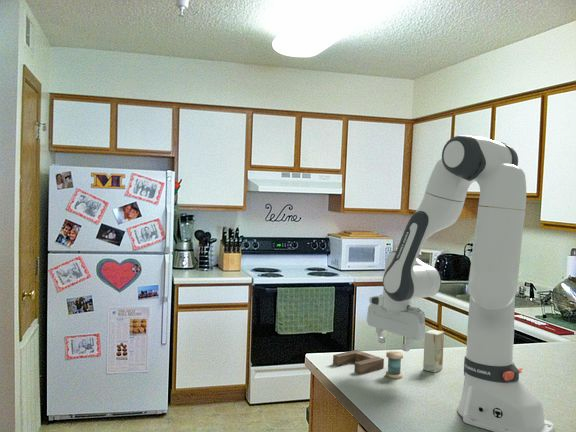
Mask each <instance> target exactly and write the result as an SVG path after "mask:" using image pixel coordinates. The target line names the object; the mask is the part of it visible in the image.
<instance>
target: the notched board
mask: <svg viewBox="0 0 576 432" xmlns="http://www.w3.org/2000/svg"><path fill="white" fill-rule="evenodd" d="M353 363H354V371H353V372H354V373H356V374H359V375H363V374H367V373H371V372H375V371H378V370H382V369H384V365H385V358H383V357H380V356H376V355H373V354H370V353H368V352H364V351H361V350H358V349H354V350H350V351H346V352H340V353H336V354H333V356H332V364H333V366H334V365H335V366H336V367H341V366H344V365H348V364H353Z"/></svg>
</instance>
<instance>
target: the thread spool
mask: <svg viewBox="0 0 576 432" xmlns="http://www.w3.org/2000/svg"><path fill="white" fill-rule="evenodd" d="M385 353H386V358H387V370H386V371H385V377H387V378H388V379H391V380H399V379H402V378H403V373H402V371H401V365H402V364H401V362H402V359H403V358H404V354H403V352H400V351H395V350H393V351H392V350H390V351H389V350H388V351H387V352H385Z"/></svg>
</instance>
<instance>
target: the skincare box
mask: <svg viewBox="0 0 576 432" xmlns="http://www.w3.org/2000/svg"><path fill="white" fill-rule="evenodd" d="M444 337H445V332H444V331H442V330H436V329H430V330H427V331H425V336H424V338H423V339H424V343H423V344H424V345H423V346H424V347H423V361H422V364H423V365H422V371H428V372H430V373H437V372H439V371H440V370H442V369H443V364H444V363H443V362H444V341H445V340H444Z"/></svg>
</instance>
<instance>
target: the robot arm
mask: <svg viewBox="0 0 576 432" xmlns="http://www.w3.org/2000/svg"><path fill="white" fill-rule="evenodd" d="M518 165H519V157H518V154H517V151H516V150H515V149H514V148H513V147H512V146H511V145H509V144H507V143H505V142H502V141H497V140H492V139H490V138H487V137H483V136H472V135H470V134H464V135H463V134H461V135H456V136H453V137H451V138H450V139H449V140H447V141H446V143H445V144H444V146H443V149H442V152H441V158H440V159H439V160H438V161H437V162H436V163H435V165H434V168H433V169H432V171H431V174H430V176H429V179H428V180H427V181H428V182H427V184H426V189H425V192H424V195H423V198H422V200H421V202H420V204H419V206H418V208H417V209H416V211H415V212H414V213H413V214H412V215H411V217H410V218H409V219H408V222H407V224H406V227H405V229H404V231H403V233H402V236H401V239H400V241H399V243H398V246H397V249H396V250H392V251H390V252H389V253H388V254H387V256H386V260H385V264H384V274H383V276H382V286H383V291H382V294H379V295H374V296H373V295H372V296H370V297H368V299H369V300H368V301H369V305H368V307H367V311H366V312H367V313H366V314H367V315H366V322H367V324H368V326H370V327H373V328H375V332H376V335H377V337H378V338H377V339H378V341H377V342H378V343H380V344H385V343H386V336H384V333H383V332H384V331H386V332H389V333H392V334H396V335H398V336H403V337H405V341H406V342H405V344H402V346H401V347H402V348H401V350H402V351H403V352H410V350H411V345H412V344H413V342H414V340H415V341H418V340H419V341H420V340H423V339H425V332H426V321H425V319H426V314H425V312H424V311H423V310H422V308H420V307H417V306H416V307H415V306H413V305H412V301H413V300H414V299H423V298H429V297H430V298H431V297H433V296H436V295H437V294H438V293H439V291H440V290H441V289H440V288H441V286H442V277H441V274H440V272H439V271H438V269H437V268H435V266H432V265H429V264H427V263H425V262H424V261H422V260H421V259H420V258H418V257H419V254H420V252H421V250H422V247H423V245H424V243H425V242H426V241H427V240H428V239H429V238H430V237H431V236H432V235H434V234H436V233H438V232H439V231H442V230H444V229H446V228H448V227H451V226H452V225H454V224H455V223H457V221H458V219H459V218H460V216H461V214H462V212H463V209H464V204H465V203H466V202H465V200H466V198H467V194H468V190H469V188H470V186H471V185H472V183H475V182H477V184H478V188H479V198H478V206H477V214H476V221H475V222H476V223H475V224H476V225H475V232H474V238H473V239H474V240H473V247H472V254H471V261H470V267H469V270H470V271H469V275H468V283H467V284H468V285H467V289H468V294H469V304H468V305H469V307H468V319H467V330H466V331H467V333H466V335H467V336H466V354H465V356H464V361H463V375H464V379H463V385H462V386H463V387H462V391H461V395H460V399H459V404H458V405H457V408H456V411H457V413H458V414H459V416H461V418H462V422H463V423H465V424H468V425H470V426H474V427H477V428H480V429H484V430H488V431H491V432H554V429H555V426H554V423H553V422H551V421H549V420H547V419H545V415H544V414H545V413H544V407H543V404H542V401H541V399H540V398H539V397H537V396H536V395H535V394H534V393H533V391H531V390H530V389H529V388H528V387H527V386H526V385H525V384H524V383H523V382H522V381H521V379H520V374H521V373H523V367H521V368H517V366H516V364H515V363H514V361H513V360H514V341H515V340H514V338H515V308H516V307H515V305H516V303H515V302H516V296H517V289H518V283H519V274H520V263H521V251H522V242H523V241H522V240H523V234H524V225H525V215H526V209H527V208H526V205H527V178H526V174H525V172H524V171H523V169H522V168H520V167H519V166H518Z"/></svg>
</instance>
